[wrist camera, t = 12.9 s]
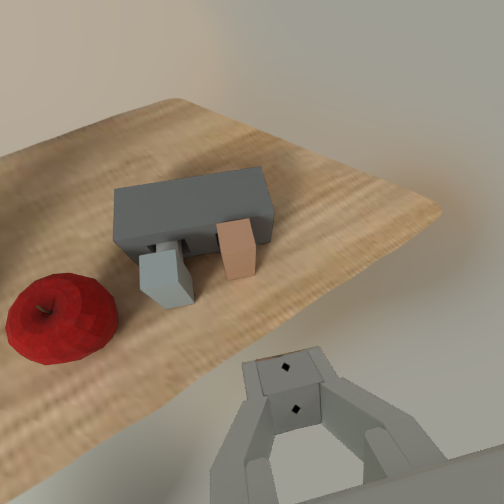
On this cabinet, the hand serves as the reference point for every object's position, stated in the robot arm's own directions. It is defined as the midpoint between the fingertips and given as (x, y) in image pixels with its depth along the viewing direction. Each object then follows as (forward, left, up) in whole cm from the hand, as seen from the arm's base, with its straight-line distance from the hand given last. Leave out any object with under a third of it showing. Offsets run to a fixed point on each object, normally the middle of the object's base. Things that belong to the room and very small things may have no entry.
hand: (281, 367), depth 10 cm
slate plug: (-2, +18, -24) cm, 30 cm away
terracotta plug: (+8, +16, -24) cm, 30 cm away
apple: (-14, +17, -25) cm, 33 cm away
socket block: (+5, +21, -24) cm, 33 cm away
